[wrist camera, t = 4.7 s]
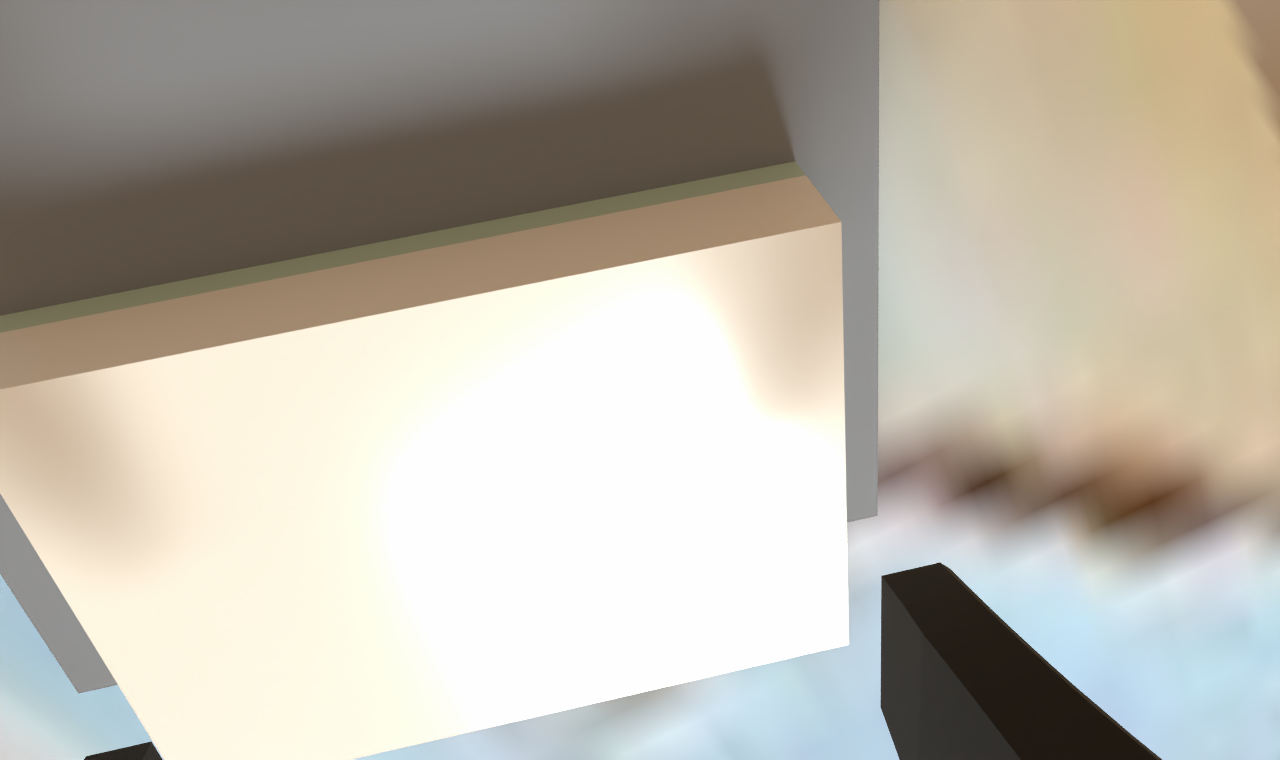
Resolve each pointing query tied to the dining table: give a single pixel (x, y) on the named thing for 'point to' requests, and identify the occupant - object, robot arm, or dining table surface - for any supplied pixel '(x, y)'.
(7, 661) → the dining table surface
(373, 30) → the mat
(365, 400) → the tile
